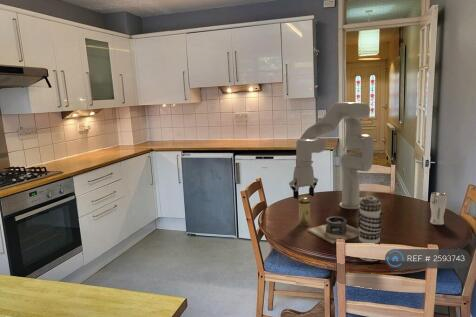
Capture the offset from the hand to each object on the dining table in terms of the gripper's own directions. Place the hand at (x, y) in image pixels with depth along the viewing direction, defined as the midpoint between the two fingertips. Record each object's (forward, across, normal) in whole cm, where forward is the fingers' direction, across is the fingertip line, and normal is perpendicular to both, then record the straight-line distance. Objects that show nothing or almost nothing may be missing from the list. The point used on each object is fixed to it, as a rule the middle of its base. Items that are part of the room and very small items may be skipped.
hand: (303, 197), depth 183 cm
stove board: (+15, -7, +17) cm, 23 cm away
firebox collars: (+15, -7, +17) cm, 23 cm away
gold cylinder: (+15, -1, 0) cm, 15 cm away
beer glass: (+14, -57, +34) cm, 68 cm away
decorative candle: (+15, -1, +43) cm, 45 cm away
